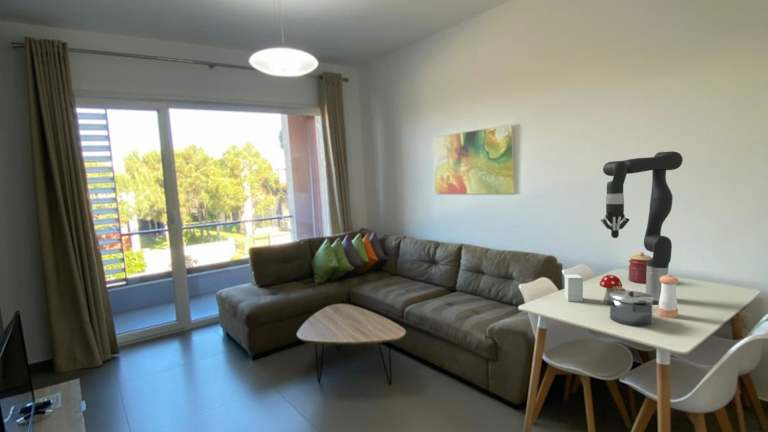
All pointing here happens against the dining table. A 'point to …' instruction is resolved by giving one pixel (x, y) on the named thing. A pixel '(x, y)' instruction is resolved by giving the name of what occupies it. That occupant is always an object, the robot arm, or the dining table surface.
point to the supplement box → (574, 288)
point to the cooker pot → (631, 313)
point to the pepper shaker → (668, 297)
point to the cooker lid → (630, 296)
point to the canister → (638, 268)
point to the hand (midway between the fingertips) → (614, 237)
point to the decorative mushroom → (609, 285)
